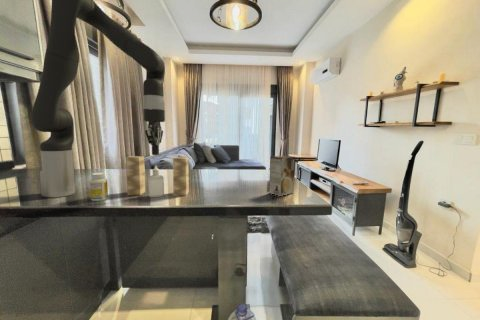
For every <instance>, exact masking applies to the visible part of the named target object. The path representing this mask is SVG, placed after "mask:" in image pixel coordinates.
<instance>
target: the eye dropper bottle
mask: <svg viewBox="0 0 480 320" xmlns="http://www.w3.org/2000/svg"><path fill="white" fill-rule="evenodd" d="M164 178H165V177H164V176H163V175H161V174H160V169H159V168H158V165H155V166H154V167H153V169H152V175H150V176H148V180H147V181H148V184H147V185H148V197H149V198H159V197H164V196H165V187H164V186H165V183H164V182H165V180H164Z"/></svg>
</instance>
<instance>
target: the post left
mask: <svg viewBox="0 0 480 320" xmlns="http://www.w3.org/2000/svg"><path fill="white" fill-rule="evenodd" d="M125 164H126V165H125V166H126V167H125V168H126V187H127V188H126V189H127V196H141V195H143V194H145V193H146V172H145V167H146V166H145V156H143V155H131V156H130V155H129V156H126V157H125Z"/></svg>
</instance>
